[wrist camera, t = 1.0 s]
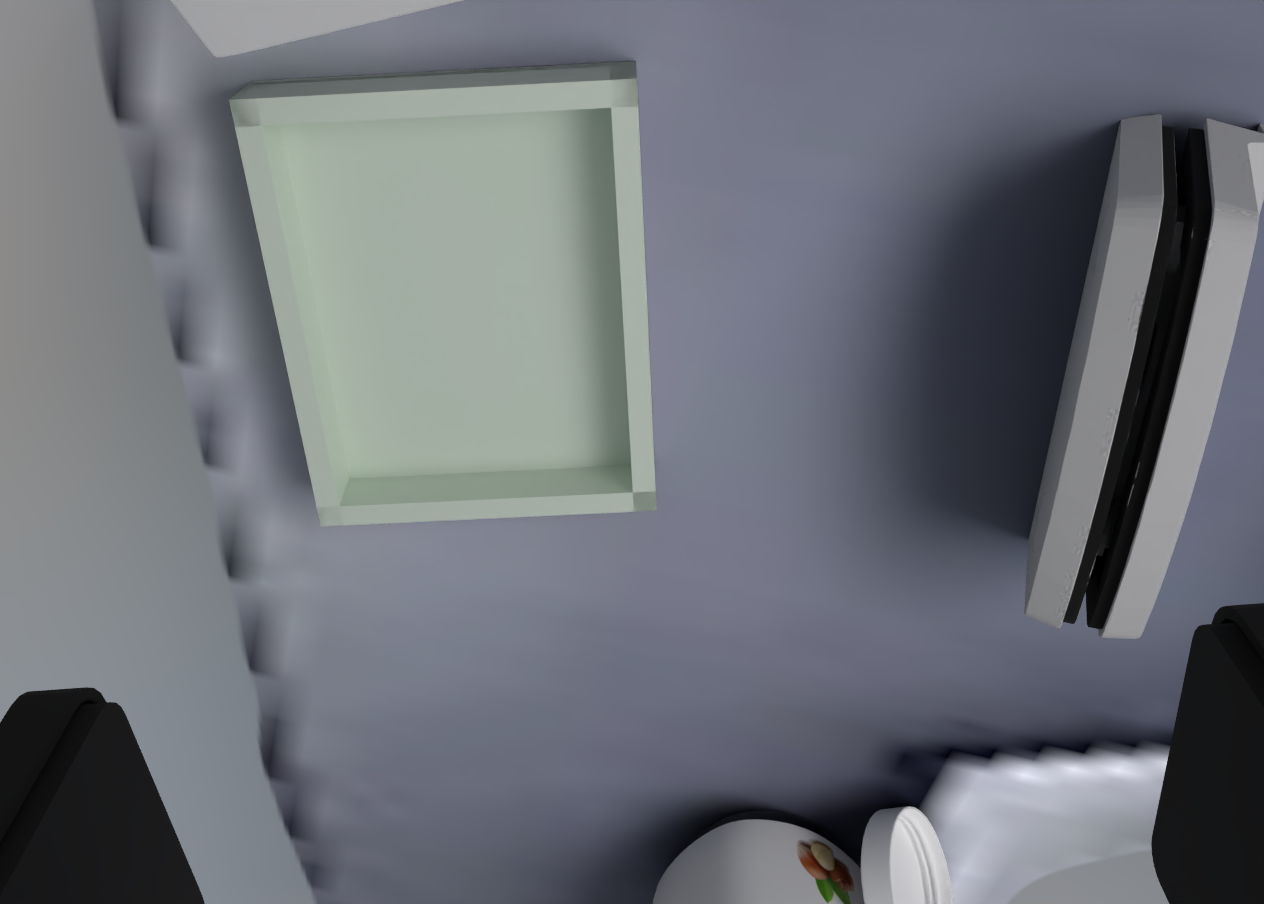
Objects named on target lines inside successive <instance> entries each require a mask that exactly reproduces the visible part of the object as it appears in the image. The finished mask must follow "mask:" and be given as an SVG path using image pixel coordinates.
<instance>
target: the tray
mask: <svg viewBox="0 0 1264 904" xmlns="http://www.w3.org/2000/svg"><path fill="white" fill-rule="evenodd" d="M229 102H230V107H231V112H232V116H233V121H234V126H235V130H236V135H237V140H238V144H239V149H240V153H241V158H242V163H243V167H244V172H245V177H246V181H247V186H248V191H249V195H250V200H251V205H252V209H253V214H254V218H255V223H256V228H257V232H258V237H259V242H260V246H261V251H262V256H263V260H264V265H265V270H266V274H267V279H268V283H269V288H270V293H271V297H272V302H273V307H274V311H275V316H276V321H277V325H278V330H279V335H280V339H281V344H282V348H283V353H284V358H285V362H286V367H287V372H288V376H289V381H290V386H291V390H292V395H293V400H294V404H295V409H296V413H297V418H298V423H299V427H300V432H301V437H302V441H303V446H304V451H305V455H306V460H307V465H308V469H309V474H310V478H311V483H312V488H313V492H314V497H315V502H316V506H317V511H318V516H319V520H320V525H321V526H340V525H362V524H383V523H404V522H425V521H446V520H468V519H489V518H510V517H531V516H552V515H574V514H595V513H616V512H637V511H656V491H655V469H654V447H653V425H652V403H651V380H650V358H649V336H648V314H647V292H646V270H645V248H644V226H643V204H642V181H641V159H640V137H639V115H638V93H637V74H636V61H625V62H606V63H587V64H568V65H549V66H530V67H511V68H492V69H473V70H454V71H435V72H416V73H397V74H378V75H358V76H339V77H320V78H301V79H282V80H263V81H251V82H250V83H249V84H248V85H247V86H245V87H244V88H243V89H242V90H240V91H239V92H238V93H237V94H236V95H234V96H233V97H232V98H231V99H230V100H229Z"/></svg>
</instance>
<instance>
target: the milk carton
mask: <svg viewBox="0 0 1264 904" xmlns="http://www.w3.org/2000/svg"><path fill="white" fill-rule="evenodd" d="M460 1H464V0H171V2H172V3H173V4H174V6H175V7H176V8H177V10H178V11H179V12H180V13H181V15H182V16H183V17H184V19H185V20H186V21H187V22H188V24H189V25H190V26H191V28H192V29H193V30H194V31H195V33H196V34H197V35H198V37H199V38H200V39H201V41H202V42H203V43H204V44H205V46H206V47H207V48H208V50H209V51H210V52H211V53H212V55H213V56H214V57H217V58H219V57H228V56H233V55H238V54H243V53H247V52H252V51H256V50H260V49H264V48H269V47H273V46H277V45H281V44H285V43H289V42H294V41H298V40H302V39H306V38H310V37H314V36H318V35H323V34H327V33H331V32H335V31H339V30H343V29H347V28H352V27H356V26H360V25H364V24H368V23H372V22H377V21H381V20H385V19H389V18H393V17H397V16H401V15H406V14H410V13H414V12H418V11H422V10H426V9H430V8H435V7H439V6H443V5H447V4H451V3H455V2H460Z"/></svg>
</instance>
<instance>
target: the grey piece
mask: <svg viewBox="0 0 1264 904" xmlns="http://www.w3.org/2000/svg"><path fill="white" fill-rule="evenodd" d="M1177 192H1178V197H1177ZM1263 200H1264V124H1259V127H1258V130H1257V132H1256V131H1252V130H1248V129H1245V128H1241V127H1237V126H1234V125H1230V124H1226V123H1223V122H1219V121H1215V120H1212V119H1208V118H1206V119H1205V123H1204V127H1203V130H1201V129H1189V132H1188V136H1187V140H1186V144H1185V148H1184V152H1183V156H1182V161H1181V165H1180V169H1179V173H1178V177H1177V182H1176V162H1175V143H1174V127H1168V126H1162V118H1161V114H1158V115H1148V116H1139V117H1132V118H1128V119H1124V120H1120V125H1119V129H1118V134H1117V138H1116V143H1115V147H1114V152H1113V157H1112V161H1111V166H1110V170H1109V175H1108V179H1107V184H1106V189H1105V193H1104V198H1103V202H1102V207H1101V211H1100V216H1099V221H1098V225H1097V230H1096V234H1095V239H1094V243H1093V248H1092V253H1091V257H1090V262H1089V266H1088V271H1087V275H1086V280H1085V285H1084V289H1083V294H1082V298H1081V303H1080V307H1079V312H1078V317H1077V321H1076V326H1075V330H1074V335H1073V339H1072V344H1071V349H1070V353H1069V358H1068V362H1067V367H1066V371H1065V376H1064V381H1063V385H1062V390H1061V394H1060V399H1059V403H1058V408H1057V413H1056V417H1055V422H1054V426H1053V431H1052V435H1051V440H1050V445H1049V449H1048V454H1047V458H1046V463H1045V467H1044V472H1043V477H1042V481H1041V486H1040V490H1039V495H1038V499H1037V504H1036V509H1035V513H1034V518H1033V522H1032V527H1031V531H1030V536H1029V543H1028V559H1027V576H1026V592H1025V608H1024V614H1025V615H1027V616H1029V617H1031V618H1034V619H1036V620H1038V621H1041V622H1043V623H1046V624H1048V625H1050V626H1053V627H1055V628H1058V629H1059V628H1060V627H1061V625H1062V622H1067V623H1071V624H1074V623H1075V621H1076V619H1077V616H1078V613H1079V610H1080V607H1081V604H1082V601H1083V598H1084V595H1085V592H1086V608H1087V625H1088V627H1091V628H1096V629H1098V632H1099V636H1100V638H1129V639H1139V637H1140V636H1141V635H1142V633H1143V630H1144V628H1145V625H1146V623H1147V621H1148V618H1149V616H1150V613H1151V611H1152V608H1153V606H1154V603H1155V601H1156V598H1157V595H1158V593H1159V590H1160V588H1161V585H1162V582H1163V580H1164V577H1165V574H1166V571H1167V568H1168V565H1169V562H1170V559H1171V556H1172V553H1173V550H1174V547H1175V544H1176V541H1177V538H1178V535H1179V533H1180V530H1181V527H1182V524H1183V520H1184V517H1185V514H1186V511H1187V508H1188V505H1189V501H1190V498H1191V495H1192V492H1193V488H1194V485H1195V481H1196V478H1197V474H1198V471H1199V467H1200V464H1201V460H1202V457H1203V453H1204V450H1205V446H1206V443H1207V439H1208V435H1209V432H1210V428H1211V425H1212V421H1213V417H1214V413H1215V410H1216V406H1217V402H1218V398H1219V394H1220V390H1221V386H1222V382H1223V378H1224V375H1225V371H1226V367H1227V363H1228V359H1229V355H1230V351H1231V347H1232V343H1233V339H1234V335H1235V331H1236V326H1237V322H1238V318H1239V313H1240V309H1241V305H1242V300H1243V296H1244V291H1245V287H1246V282H1247V278H1248V274H1249V269H1250V265H1251V260H1252V256H1253V251H1254V247H1255V242H1256V237H1257V232H1258V221H1259V214H1260V211H1261V207H1262V204H1263ZM1155 320H1156V323H1157V326H1156V330H1155V335H1154V339H1153V343H1152V347H1151V351H1150V355H1149V359H1148V363H1147V367H1146V371H1145V375H1144V378H1143V382H1142V385H1141V381H1142V377H1143V372H1144V368H1145V364H1146V360H1147V356H1148V351H1149V347H1150V343H1151V339H1152V334H1153V329H1154V325H1155ZM1140 385H1141V389H1140ZM1139 389H1140V392H1139ZM1138 394H1139V396H1138Z"/></svg>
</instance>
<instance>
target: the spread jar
mask: <svg viewBox="0 0 1264 904" xmlns="http://www.w3.org/2000/svg"><path fill="white" fill-rule="evenodd" d="M653 904H954V903H953V894H952V887H951V881H950V876H949V871H948V867H947V863H946V860H945V856H944V853H943V850H942V847H941V844H940V842H939V839H938V837H937V835H936V833H935V831H934V829H933V827H932V825H931V823H930V822H929V820H928V819H927V817H926V816H925V815H924V814H923V813H922V812H921V811H920V810H918V809H917V808H915V807H910V806H906V807H897V808H889V809H881V810H879V811H876V812H875V813H874V814H873V816H872V817H871V818H870V820H869V822H868V824H867V826H866V829H865V833H864V836H863V842H862V850H861V867H860V866H859V865H858V863H857V862H856V861H855V860H854V858H853V857H852V856H851V855H850V854H849V853H848V852H847V851H846V850H845V849H844V848H843V847H842V846H841V845H840V843H839V842H838V841H836V840H835V839H834V838H833V837H832V836H831V835H830V834H828V833H827V832H826V831H825V830H823V829H822V828H820V827H819V826H817V825H816V824H814V823H812V822H811V821H809V820H806V819H804V818H802V817H799V816H796V815H793V814H789V813H784V812H778V811H750V812H743V813H739V814H735V815H732V816H729V817H726V818H724V819H722V820H720V821H717V822H716V823H714V824H712V825H710V826H709V827H707V828H705V829H704V830H702V831H701V832H700V833H698V834H697V835H696V836H695V837H693V838H692V839H691V840H690V841H689V842H688V843H687V844H686V845H685V846H684V847H683V848H682V849H681V850H680V851H679V852H678V853H677V855H676V856H675V857H674V858H673V860H672V861H671V863H670V864H669V866H668V868H667V869H666V871H665V873H664V874H663V876H662V877H661V879H660V881H659V883H658V886H657V888H656V892H655V895H654V899H653Z"/></svg>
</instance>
